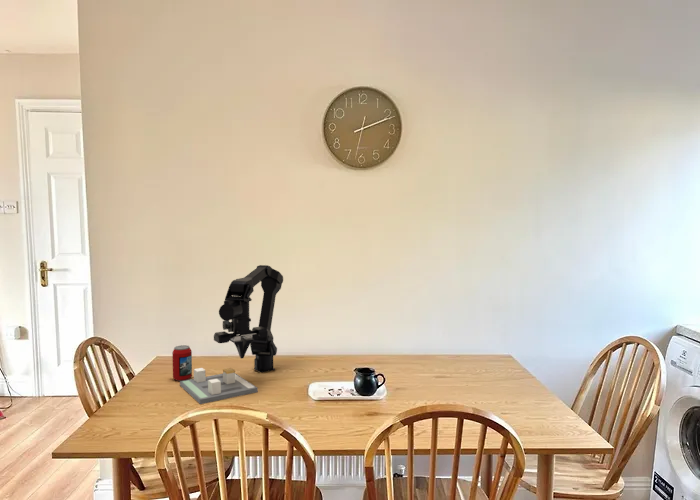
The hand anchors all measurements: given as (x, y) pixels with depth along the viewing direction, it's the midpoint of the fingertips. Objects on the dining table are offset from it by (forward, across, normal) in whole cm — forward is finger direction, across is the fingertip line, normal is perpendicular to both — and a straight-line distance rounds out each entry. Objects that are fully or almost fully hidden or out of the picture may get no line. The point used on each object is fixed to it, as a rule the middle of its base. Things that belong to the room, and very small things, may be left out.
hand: (241, 358), depth 180 cm
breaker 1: (+8, +13, -7) cm, 17 cm away
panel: (+9, +9, 0) cm, 13 cm away
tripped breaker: (+8, +5, 0) cm, 9 cm away
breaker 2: (+8, +13, +8) cm, 17 cm away
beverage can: (+10, +16, -18) cm, 26 cm away
